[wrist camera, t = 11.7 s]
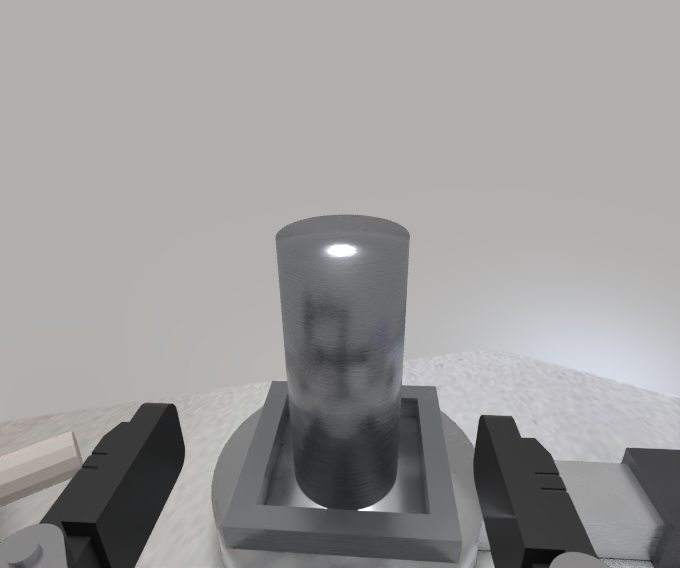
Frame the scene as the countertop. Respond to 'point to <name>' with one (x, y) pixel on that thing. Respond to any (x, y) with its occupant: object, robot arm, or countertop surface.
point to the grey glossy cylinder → (344, 353)
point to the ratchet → (421, 499)
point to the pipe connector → (38, 467)
